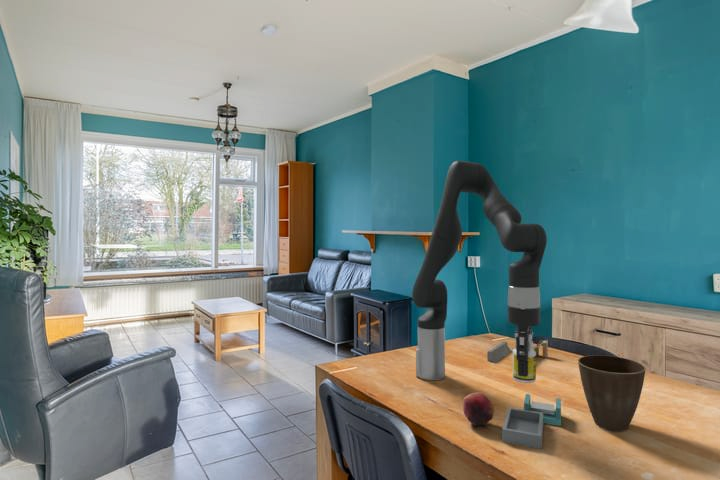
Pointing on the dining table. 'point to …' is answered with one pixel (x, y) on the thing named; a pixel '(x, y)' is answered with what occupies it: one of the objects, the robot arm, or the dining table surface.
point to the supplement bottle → (531, 366)
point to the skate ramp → (504, 350)
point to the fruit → (478, 408)
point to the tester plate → (542, 407)
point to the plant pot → (611, 389)
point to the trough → (523, 428)
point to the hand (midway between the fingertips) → (523, 371)
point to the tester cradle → (547, 418)
